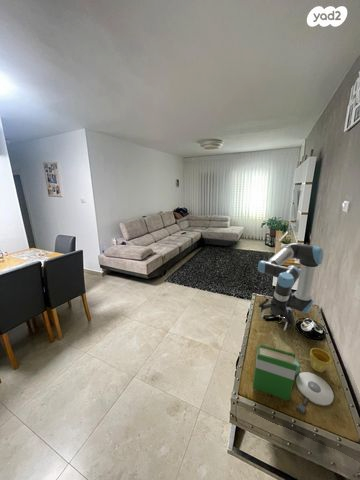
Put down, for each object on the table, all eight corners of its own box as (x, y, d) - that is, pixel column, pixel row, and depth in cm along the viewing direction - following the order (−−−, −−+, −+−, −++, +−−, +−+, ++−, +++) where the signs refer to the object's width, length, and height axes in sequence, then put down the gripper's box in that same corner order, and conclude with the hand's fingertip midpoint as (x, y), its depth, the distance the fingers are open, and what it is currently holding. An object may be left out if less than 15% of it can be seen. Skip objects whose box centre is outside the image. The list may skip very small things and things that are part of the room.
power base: (303, 368, 119) (303, 365, 118) (337, 390, 106) (338, 388, 106) (282, 397, 104) (282, 394, 103) (319, 428, 91) (320, 425, 90)
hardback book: (287, 387, 108) (295, 354, 101) (289, 401, 102) (296, 366, 94) (253, 375, 115) (258, 343, 108) (253, 387, 109) (257, 354, 101)
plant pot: (324, 362, 122) (328, 350, 119) (330, 377, 113) (334, 365, 110) (305, 357, 126) (308, 345, 123) (310, 372, 116) (313, 359, 113)
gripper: (256, 290, 116) (251, 314, 126) (303, 313, 100) (293, 339, 111) (261, 283, 121) (256, 307, 131) (307, 304, 105) (297, 330, 115)
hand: (273, 322), depth 121 cm, fingers open, 13 cm apart
